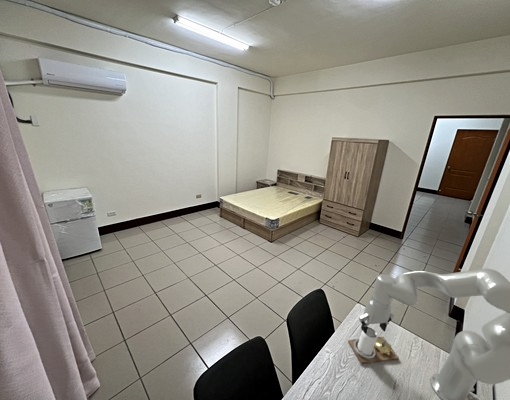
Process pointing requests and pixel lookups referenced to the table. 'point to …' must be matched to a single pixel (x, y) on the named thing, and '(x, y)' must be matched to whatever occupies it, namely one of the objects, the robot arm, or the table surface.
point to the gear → (383, 347)
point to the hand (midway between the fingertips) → (372, 329)
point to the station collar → (361, 353)
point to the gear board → (377, 357)
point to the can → (367, 342)
